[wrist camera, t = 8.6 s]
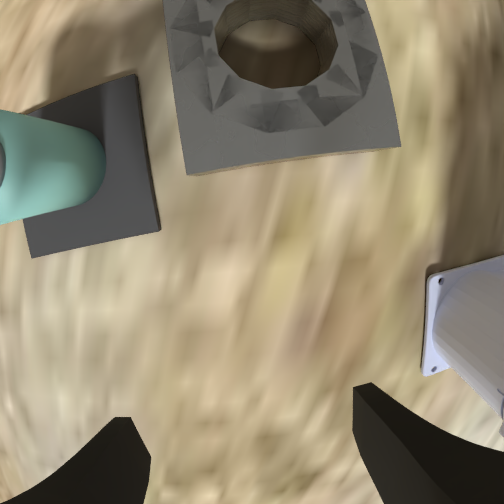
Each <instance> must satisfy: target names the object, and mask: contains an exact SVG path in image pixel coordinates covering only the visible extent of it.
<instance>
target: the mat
mask: <svg viewBox="0 0 504 504" xmlns="http://www.w3.org/2000/svg"><path fill="white" fill-rule="evenodd" d="M27 115H28V116H32V117H37V118H41V119H45V120H49V121H53V122H57V123H61V124H65V125H69V126H73V127H77V128H81V129H84V130H87V131H89V132H91V133H93V134H94V135H95V136H96V137H97V138H98V139H99V141H100V142H101V144H102V146H103V148H104V152H105V156H106V171H105V176H104V180H103V182H102V185H101V186H100V188H99V190H98V191H97V193H96V194H95V195H94V196H93V197H92V198H91V199H90V200H88V201H87V202H85V203H83V204H81V205H78V206H73V207H69V208H65V209H60V210H56V211H52V212H48V213H43V214H39V215H35V216H31V217H28V218H24V219H23V223H24V228H25V232H26V237H27V241H28V246H29V250H30V254H31V258H36V257H40V256H45V255H49V254H53V253H58V252H62V251H67V250H71V249H76V248H80V247H85V246H90V245H94V244H99V243H104V242H108V241H113V240H118V239H123V238H128V237H133V236H138V235H143V234H148V233H153V232H158V231H160V230H161V226H160V221H159V216H158V211H157V206H156V200H155V195H154V189H153V184H152V178H151V172H150V166H149V160H148V154H147V147H146V141H145V134H144V127H143V120H142V112H141V104H140V96H139V87H138V78H137V76H136V75H135V74H132V75H129V76H126V77H122V78H119V79H116V80H113V81H110V82H107V83H104V84H101V85H98V86H95V87H92V88H89V89H87V90H84V91H81V92H79V93H76V94H73V95H71V96H68V97H66V98H63V99H61V100H59V101H56V102H54V103H51V104H49V105H47V106H45V107H42V108H40V109H38V110H36V111H34V112H31V113H29V114H27Z"/></svg>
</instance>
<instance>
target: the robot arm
mask: <svg viewBox="0 0 504 504" xmlns="http://www.w3.org/2000/svg"><path fill="white" fill-rule="evenodd" d="M440 278H441V281H440V282H439V283H438V281H439V279H440ZM433 367H434V368H433ZM450 367H451V368H452V369H453V370H454V371H455V372H456V373H457V374H458V375H459V376H460V377H461V378H462V379H463V380H464V381H465V382H466V383H467V384H468V385H469V386H470V387H471V388H472V389H473V390H474V391H475V392H476V393H477V394H478V395H479V396H480V397H481V398H482V399H483V400H484V401H485V402H486V403H487V404H488V405H489V406H490V407H491V408H492V409H493V410H494V411H495V412H496V413H497V414H498V415H499V416H500V417H501V418H502V419H503V423H502V426H501V428H500V430H499V433H500V434H501V435H502V436H503V437H504V255H501V256H498V257H494V258H491V259H487V260H484V261H480V262H476V263H473V264H469V265H465V266H462V267H458V268H454V269H450V270H447V271H443V272H439V273H435V274H432V275H430V276H429V277H428V279H427V295H426V319H425V335H424V347H423V358H422V367H421V373H422V374H423V375H424V376H429V375H432V374H435V373H438V372H440V371H443V370H445V369H448V368H450ZM432 368H433V369H432ZM352 431H353V434H354V437H355V440H356V443H357V446H358V449H359V452H360V455H361V457H362V460H363V462H364V464H365V466H366V468H367V470H368V472H369V474H370V476H371V478H372V480H373V482H374V484H375V486H376V488H377V490H378V492H379V494H380V496H381V498H382V501H383V503H384V504H504V452H502V451H498V450H494V449H491V448H487V447H484V446H480V445H477V444H474V443H472V442H469V441H467V440H464V439H462V438H459V437H457V436H455V435H452V434H450V433H448V432H446V431H444V430H442V429H440V428H438V427H436V426H435V425H433V424H431V423H429V422H428V421H426V420H424V419H423V418H421V417H419V416H418V415H416V414H415V413H413V412H412V411H410V410H409V409H407V408H406V407H404V406H403V405H401V404H400V403H399V402H397V401H396V400H394V399H393V398H392V397H390V396H389V395H388V394H386V393H385V392H384V391H382V390H381V389H380V388H378V387H377V386H376V385H374V384H373V383H367V384H363V385H360V386H356V387H353V428H352ZM150 464H151V456H150V454H149V452H148V450H147V448H146V446H145V444H144V443H143V441H142V439H141V437H140V435H139V433H138V431H137V429H136V427H135V425H134V423H133V421H132V419H131V417H115V418H113V419H112V420H111V421H110V422H109V423H108V424H107V425H106V426H105V427H104V428H102V429H101V430H100V431H99V432H98V433H97V434H96V435H95V436H94V437H93V438H92V439H91V440H90V441H89V442H88V443H87V444H86V445H85V446H84V447H83V448H82V449H81V450H80V451H79V452H78V453H76V454H75V455H74V456H73V457H72V458H71V459H70V460H68V461H67V462H66V463H65V464H64V465H63V466H61V467H60V468H59V469H58V470H57V471H55V472H54V473H53V474H52V475H50V476H49V477H47V478H46V479H45V480H43V481H42V482H40V483H39V484H37V485H36V486H34V487H32V488H31V489H29V490H27V491H25V492H23V493H21V494H20V495H18V496H16V497H14V498H12V499H10V500H8V501H5V502H3V503H0V504H143V503H144V499H145V495H146V491H147V487H148V482H149V475H150Z"/></svg>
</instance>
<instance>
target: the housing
mask: <svg viewBox="0 0 504 504" xmlns="http://www.w3.org/2000/svg"><path fill="white" fill-rule="evenodd" d="M163 7H164V17H165V27H166V36H167V44H168V53H169V61H170V69H171V76H172V84H173V91H174V98H175V105H176V112H177V118H178V125H179V132H180V138H181V144H182V150H183V156H184V162H185V168H186V174H187V175H190V176H200V175H205V174H211V173H216V172H222V171H227V170H233V169H239V168H245V167H251V166H257V165H264V164H271V163H277V162H284V161H292V160H299V159H307V158H315V157H323V156H332V155H341V154H351V153H361V152H373V151H379V150H384V149H390V148H396V147H401V142H400V136H399V130H398V124H397V119H396V114H395V109H394V104H393V99H392V94H391V90H390V85H389V81H388V77H387V73H386V69H385V65H384V61H383V57H382V53H381V50H380V46H379V43H378V39H377V36H376V33H375V29H374V26H373V23H372V20H371V17H370V14H369V11H368V8H367V5H366V2H365V0H163ZM264 19H277V20H280V21H282V22H285V23H288V24H291V25H294V26H296V27H299V28H300V29H301V30H302V31H303V32H304V33H305V34H306V36H307V37H308V38H309V39H310V40H311V41H312V42H313V43H314V44H315V45H316V49H317V53H318V57H319V62H320V66H321V68H320V71H319V73H318V76H317V78H316V79H314V80H313V81H311V82H310V83H308V84H307V85H306V86H297V87H286V88H277V89H270V88H268V87H265V86H262V85H259V84H257V83H254V82H251V81H248V80H245V79H242V78H239V76H238V75H237V74H236V73H235V72H234V71H233V70H232V69H231V68H230V67H229V66H228V65H227V64H226V63H225V62H224V61H223V60H222V59H221V58H220V56H219V55H218V54H219V52H220V50H221V48H222V46H223V43H224V41H225V39H226V37H227V35H228V34H229V33H231V32H232V31H234V30H235V29H237V28H238V27H240V26H242V25H243V24H245V23H246V22H248V21H254V20H264Z"/></svg>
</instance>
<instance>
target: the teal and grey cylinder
mask: <svg viewBox="0 0 504 504" xmlns="http://www.w3.org/2000/svg"><path fill="white" fill-rule="evenodd" d="M105 171H106V156H105V152H104V148H103V146H102V144H101V142H100V141H99V139H98V138H97V137H96V136H95V135H94V134H93V133H91V132H89V131H87V130H84V129H81V128H77V127H73V126H69V125H65V124H61V123H57V122H53V121H49V120H45V119H41V118H37V117H32V116H28V115H24V114H19V113H15V112H10V111H5V110H0V225H1V224H5V223H9V222H12V221H16V220H20V219H24V218H28V217H31V216H35V215H39V214H43V213H48V212H52V211H56V210H60V209H65V208H69V207H73V206H78V205H81V204H83V203H85V202H87V201H88V200H90V199H91V198H92V197H93V196H94V195H95V194H96V193H97V191H98V190H99V188H100V186H101V185H102V182H103V180H104V176H105Z"/></svg>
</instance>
